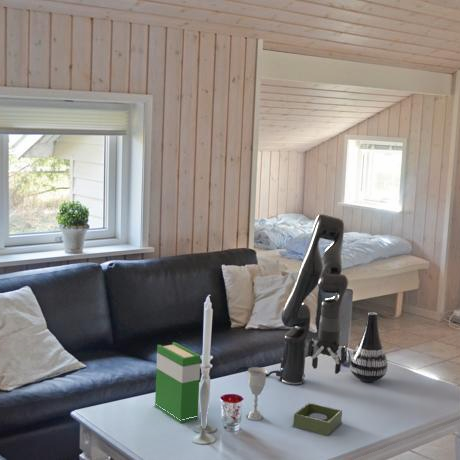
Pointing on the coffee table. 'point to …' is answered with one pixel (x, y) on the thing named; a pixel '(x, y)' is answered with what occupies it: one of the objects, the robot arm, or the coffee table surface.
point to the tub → (316, 425)
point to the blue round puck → (319, 416)
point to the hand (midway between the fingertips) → (325, 370)
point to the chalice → (256, 388)
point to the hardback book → (177, 381)
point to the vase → (369, 354)
